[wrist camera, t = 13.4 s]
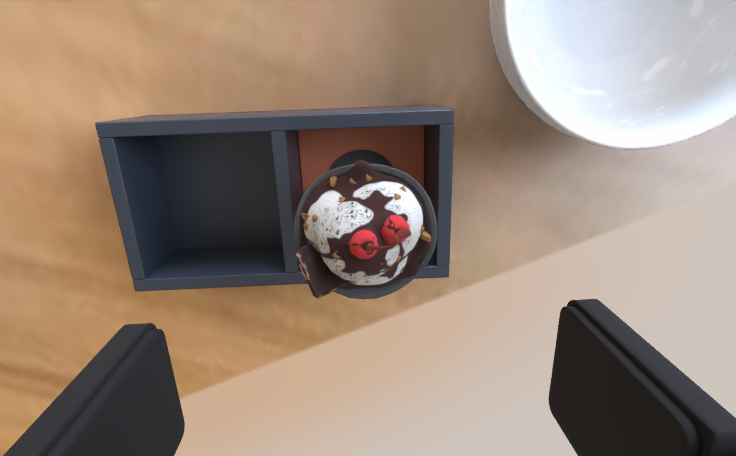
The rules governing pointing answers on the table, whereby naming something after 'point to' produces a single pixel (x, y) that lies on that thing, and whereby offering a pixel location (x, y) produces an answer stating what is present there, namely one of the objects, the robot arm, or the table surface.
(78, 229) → the table surface
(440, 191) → the caddy
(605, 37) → the cereal bowl
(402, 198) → the sundae
